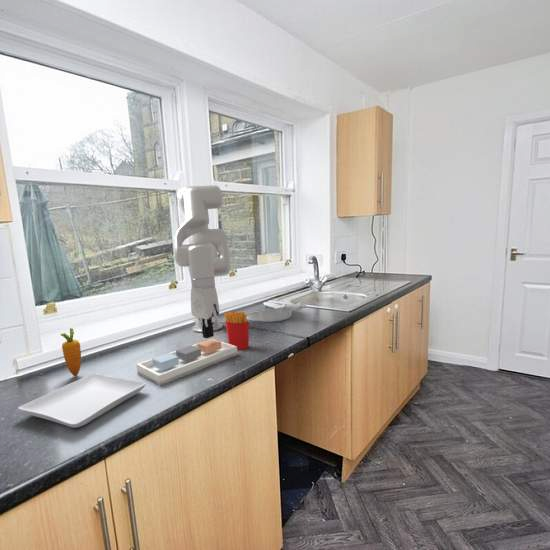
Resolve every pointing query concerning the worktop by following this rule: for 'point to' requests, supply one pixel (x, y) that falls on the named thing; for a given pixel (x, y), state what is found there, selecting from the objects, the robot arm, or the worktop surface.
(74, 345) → the carrot
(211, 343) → the terracotta key
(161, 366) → the dusty blue key
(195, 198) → the robot arm
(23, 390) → the worktop surface
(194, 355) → the charcoal key
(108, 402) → the salad plate
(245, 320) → the french fries
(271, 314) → the frying pan
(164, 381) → the white rectangular tray
